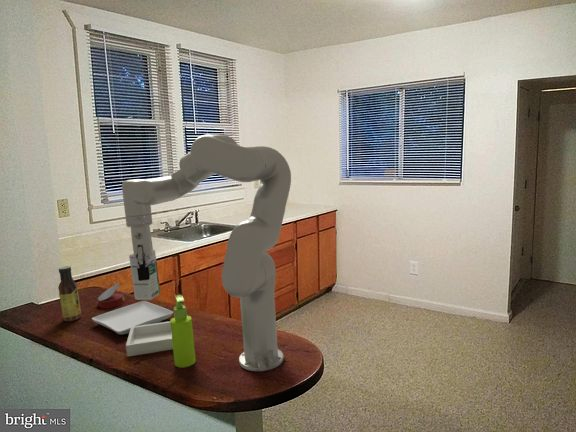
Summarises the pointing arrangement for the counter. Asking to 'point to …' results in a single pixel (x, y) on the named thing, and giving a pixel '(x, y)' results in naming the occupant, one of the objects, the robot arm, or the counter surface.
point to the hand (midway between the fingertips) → (145, 275)
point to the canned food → (111, 298)
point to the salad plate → (132, 316)
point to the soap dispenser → (182, 335)
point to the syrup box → (145, 287)
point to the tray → (149, 339)
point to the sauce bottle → (68, 295)
